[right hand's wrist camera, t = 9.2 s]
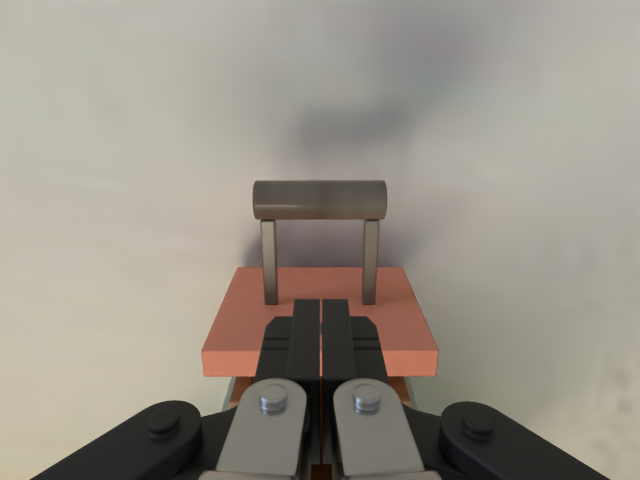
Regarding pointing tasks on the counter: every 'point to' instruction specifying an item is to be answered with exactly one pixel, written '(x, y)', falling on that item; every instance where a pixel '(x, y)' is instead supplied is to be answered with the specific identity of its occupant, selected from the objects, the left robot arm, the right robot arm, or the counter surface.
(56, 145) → the counter surface
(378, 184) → the drawer
